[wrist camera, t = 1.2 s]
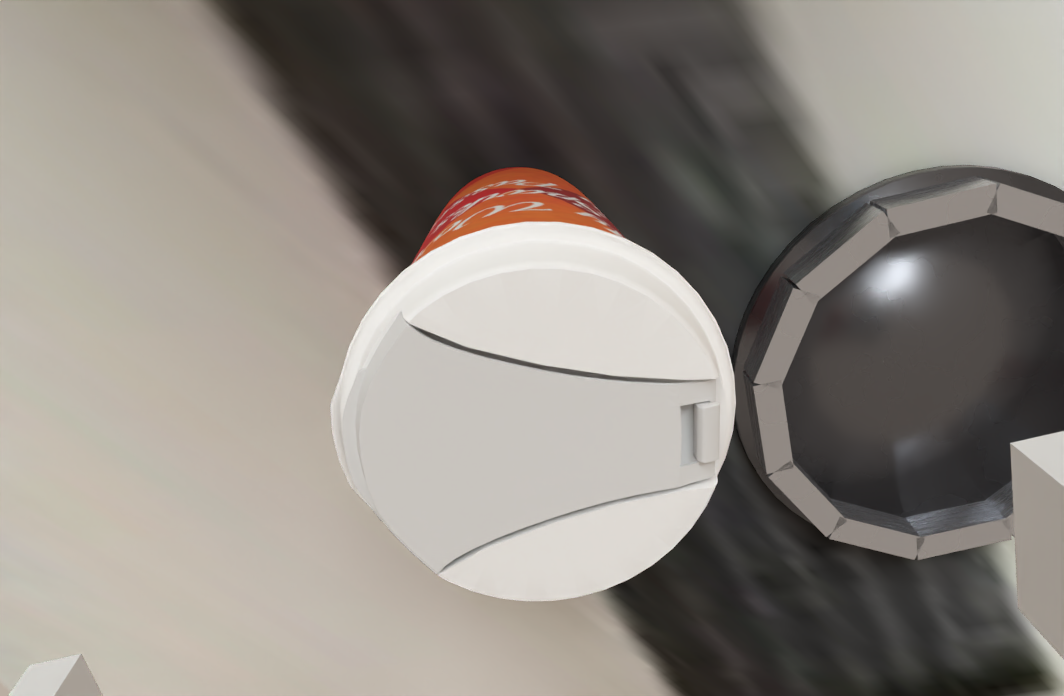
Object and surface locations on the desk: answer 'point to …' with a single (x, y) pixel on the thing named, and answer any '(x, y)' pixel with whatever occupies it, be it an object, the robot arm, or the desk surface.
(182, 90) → the desk surface
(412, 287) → the coffee cup
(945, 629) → the desk surface
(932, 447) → the ring seat
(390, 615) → the desk surface
